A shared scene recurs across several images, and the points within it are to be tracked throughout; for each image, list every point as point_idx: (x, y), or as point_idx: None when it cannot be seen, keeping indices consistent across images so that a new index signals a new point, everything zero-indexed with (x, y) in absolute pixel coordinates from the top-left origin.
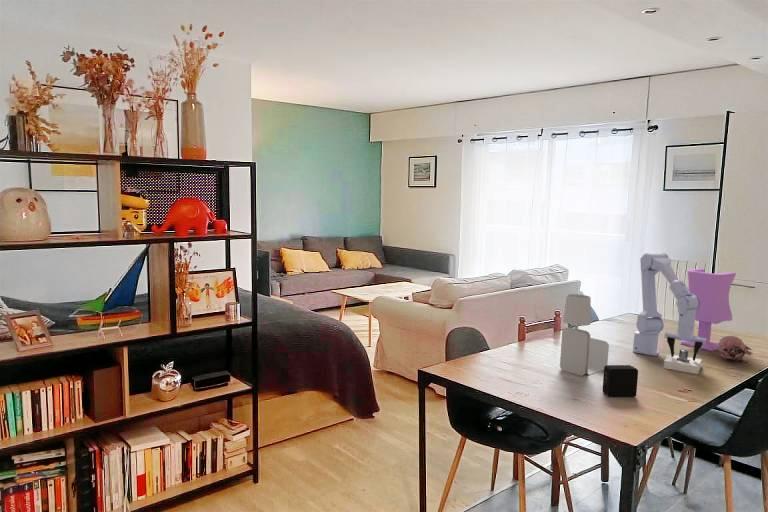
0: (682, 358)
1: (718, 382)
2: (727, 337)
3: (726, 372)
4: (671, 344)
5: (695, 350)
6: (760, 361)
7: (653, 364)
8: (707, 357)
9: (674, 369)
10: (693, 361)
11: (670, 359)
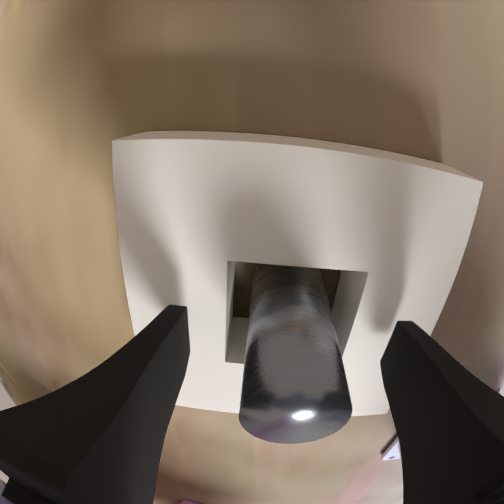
0: (302, 309)
1: (26, 29)
2: None
3: (34, 308)
4: (502, 419)
5: (108, 390)
6: None
7: (491, 231)
8: (178, 469)
9: (361, 147)
10: (189, 326)
11: (419, 271)
